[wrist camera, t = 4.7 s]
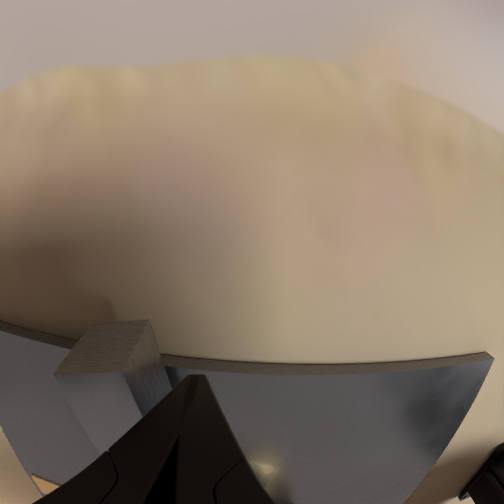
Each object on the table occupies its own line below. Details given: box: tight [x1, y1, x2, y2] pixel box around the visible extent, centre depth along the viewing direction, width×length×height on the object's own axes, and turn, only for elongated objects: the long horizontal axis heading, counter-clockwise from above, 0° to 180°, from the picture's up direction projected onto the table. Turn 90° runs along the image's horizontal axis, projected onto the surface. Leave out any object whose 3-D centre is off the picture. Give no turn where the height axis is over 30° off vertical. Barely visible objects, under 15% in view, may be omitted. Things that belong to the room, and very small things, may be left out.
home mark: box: [31, 474, 60, 494], centre depth 11 cm, size 6×2×1 cm, turn 84°
